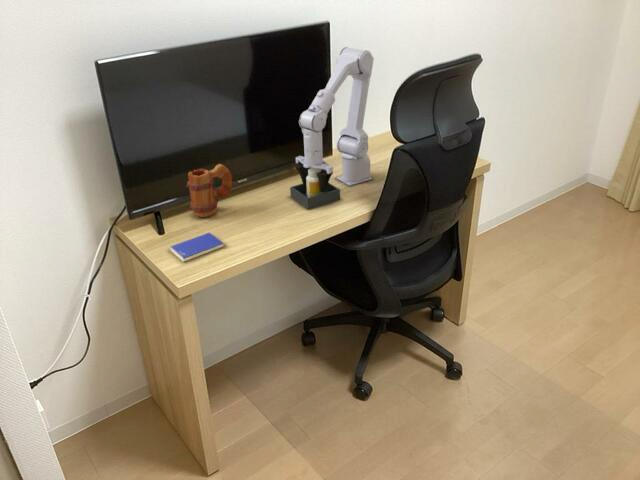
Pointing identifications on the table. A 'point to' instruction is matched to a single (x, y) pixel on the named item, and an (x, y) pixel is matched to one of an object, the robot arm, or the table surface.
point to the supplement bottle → (313, 183)
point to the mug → (207, 189)
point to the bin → (301, 196)
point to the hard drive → (196, 246)
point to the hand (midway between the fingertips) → (314, 188)
